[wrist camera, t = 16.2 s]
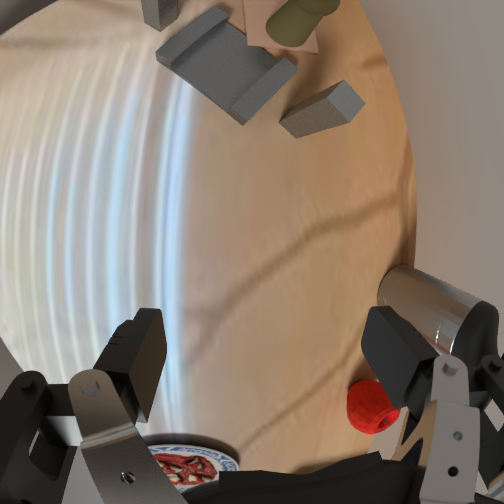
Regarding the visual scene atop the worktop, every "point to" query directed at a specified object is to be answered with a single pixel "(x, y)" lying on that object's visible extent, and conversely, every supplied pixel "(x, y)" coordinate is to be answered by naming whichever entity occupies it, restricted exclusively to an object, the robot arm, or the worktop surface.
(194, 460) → the ceramic plate
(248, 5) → the tile
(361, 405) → the apple
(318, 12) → the cork
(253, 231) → the worktop surface
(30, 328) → the worktop surface
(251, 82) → the grey u-shaped stand
